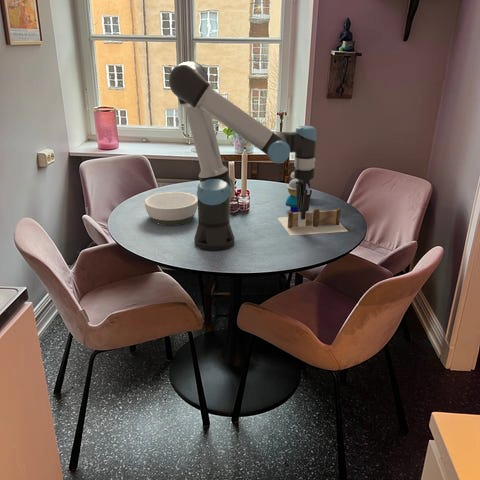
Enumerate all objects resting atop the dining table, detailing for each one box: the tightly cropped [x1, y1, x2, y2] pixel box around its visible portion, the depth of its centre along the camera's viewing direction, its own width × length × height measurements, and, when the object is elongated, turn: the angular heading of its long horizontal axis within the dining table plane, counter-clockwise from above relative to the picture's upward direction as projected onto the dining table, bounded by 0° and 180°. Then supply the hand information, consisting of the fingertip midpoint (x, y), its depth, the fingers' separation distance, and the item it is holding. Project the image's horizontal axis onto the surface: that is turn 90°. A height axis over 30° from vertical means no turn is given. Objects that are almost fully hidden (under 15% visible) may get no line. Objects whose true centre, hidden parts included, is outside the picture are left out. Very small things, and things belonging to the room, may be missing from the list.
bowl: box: [143, 191, 198, 226], centre depth 206 cm, size 22×22×8 cm
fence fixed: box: [312, 207, 342, 227], centre depth 198 cm, size 12×2×7 cm, turn 101°
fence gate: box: [287, 210, 313, 228], centre depth 196 cm, size 10×2×6 cm, turn 101°
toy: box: [285, 179, 298, 213], centre depth 213 cm, size 8×9×15 cm
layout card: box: [277, 216, 348, 237], centre depth 200 cm, size 24×20×1 cm
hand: (301, 225), depth 192 cm, fingers closed
